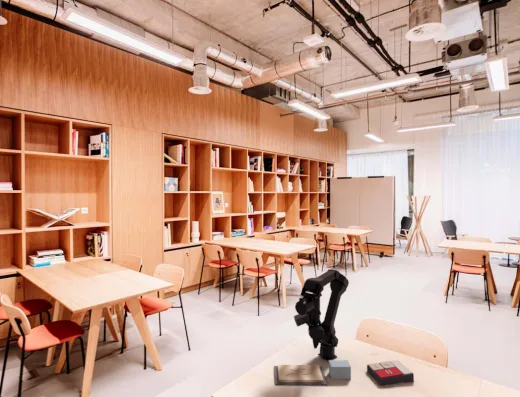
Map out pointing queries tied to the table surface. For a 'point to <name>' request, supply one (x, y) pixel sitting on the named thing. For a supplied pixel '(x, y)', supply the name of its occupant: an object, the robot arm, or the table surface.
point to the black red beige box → (390, 373)
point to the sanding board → (299, 375)
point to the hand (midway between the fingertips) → (313, 343)
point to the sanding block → (339, 370)
